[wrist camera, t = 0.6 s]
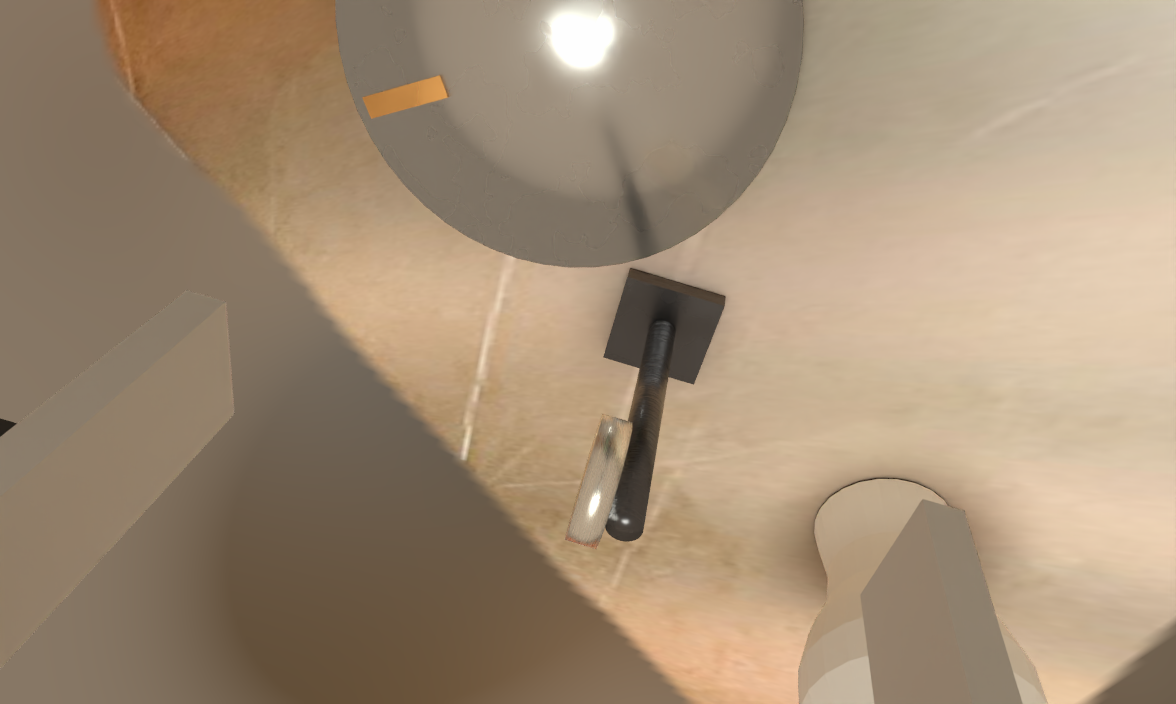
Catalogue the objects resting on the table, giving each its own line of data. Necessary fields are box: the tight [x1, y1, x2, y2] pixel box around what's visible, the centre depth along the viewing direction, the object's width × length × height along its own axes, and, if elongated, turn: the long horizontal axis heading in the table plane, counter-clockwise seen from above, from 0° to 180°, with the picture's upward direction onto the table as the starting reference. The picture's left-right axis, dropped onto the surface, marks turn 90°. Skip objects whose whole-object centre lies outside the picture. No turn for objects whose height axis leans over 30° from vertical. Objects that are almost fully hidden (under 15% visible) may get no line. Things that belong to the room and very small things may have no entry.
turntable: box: [336, 0, 804, 267], centre depth 31 cm, size 20×22×7 cm
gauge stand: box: [565, 268, 725, 549], centre depth 34 cm, size 5×5×16 cm
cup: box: [798, 479, 1048, 704], centre depth 39 cm, size 11×11×15 cm
